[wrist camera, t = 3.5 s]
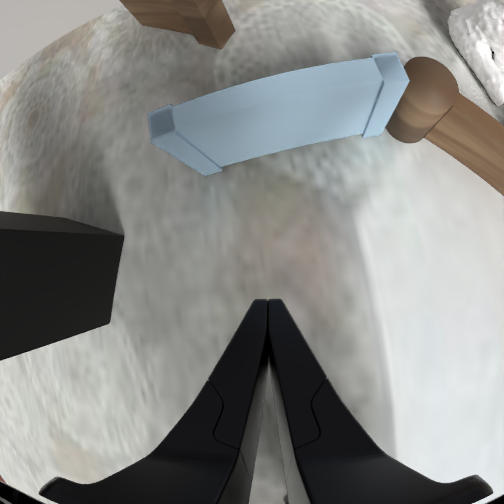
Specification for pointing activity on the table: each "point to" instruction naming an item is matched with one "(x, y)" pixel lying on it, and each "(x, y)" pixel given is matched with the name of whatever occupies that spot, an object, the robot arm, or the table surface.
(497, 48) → the sitting furry creature
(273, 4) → the table surface
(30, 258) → the black pillar candle
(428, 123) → the pen fence
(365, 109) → the gate
